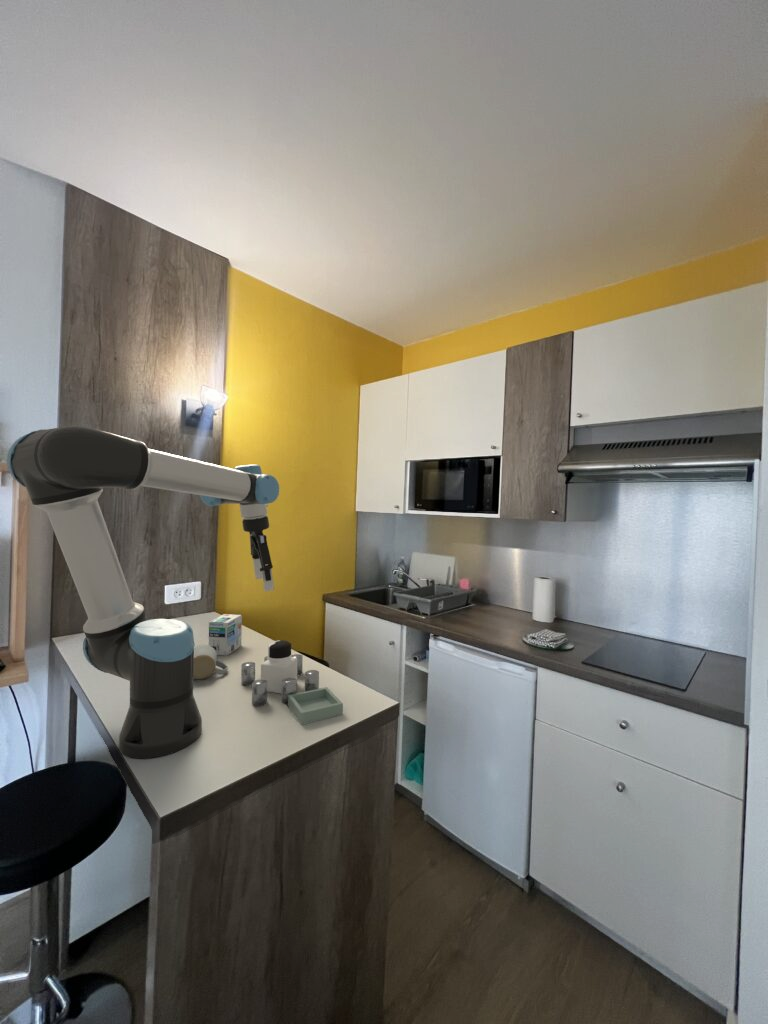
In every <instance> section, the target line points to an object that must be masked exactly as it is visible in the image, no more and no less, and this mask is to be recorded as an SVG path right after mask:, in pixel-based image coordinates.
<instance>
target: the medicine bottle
mask: <svg viewBox="0 0 768 1024" xmlns="http://www.w3.org/2000/svg"><path fill="white" fill-rule="evenodd" d="M291 655H292V643H291V642H290V641H288V640H284V639H283V640H281V639H280V640H279V639H278V640H273V641H272V642H270V643H269V644H268V645H267V656H268V660H267V661H265V662H264V661H263V662H262V663H261V664H260V680H266V681H267V693H268V692H269V693H274V694H281V695H282V680H283V679H286V678H295V679H296V680H297V681H298V676H297V658H294V657H291Z"/></svg>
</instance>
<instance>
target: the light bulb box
mask: <svg viewBox="0 0 768 1024" xmlns="http://www.w3.org/2000/svg"><path fill="white" fill-rule="evenodd" d="M242 625H243V615H242V614H232V613H231V614H228V613H224V614H221V615H220V616H218V617H216V618H214V619H212V620H210V621H208V645H209V646H211V647H213V648H214V649H215V651H216V653H217V656H229V655H230V654H232V653H233V652H234V651H235V650H237V649H238V648H240V647H242V637H243V636H242V633H243V632H242V631H243V630H242Z"/></svg>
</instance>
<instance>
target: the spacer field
mask: <svg viewBox="0 0 768 1024" xmlns="http://www.w3.org/2000/svg"><path fill="white" fill-rule="evenodd" d="M291 657H294V658H297V677H299V676H298V675H300V676H301V674H302V675H303V654H300V653H298V654H297V653H296V654H291ZM263 658H264V661H263V662H265V661H267V660H268V655H267V656H264V657H263ZM240 674H241V675H240V678H241V683H240V684H241V685H242V686H251V705H252V706H254V707H261V706H264V705H266V704H267V703H268V692H267V681H266V680H261V679H256V662H254V661H247V662H243V663H242V664H241V673H240ZM297 684H298V679H297V680H296V679H295V678H286V679H283V680H282V694H281V704H283V705H288V695H292V694H296V693H298V692H297V688H298V687H297V686H298V685H297ZM319 685H320V671H318V670H317V669H309V670H306V671H305V672H304V692H306V691H311V690H315V689H320V686H319Z"/></svg>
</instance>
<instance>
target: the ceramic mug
mask: <svg viewBox="0 0 768 1024" xmlns="http://www.w3.org/2000/svg"><path fill="white" fill-rule="evenodd" d="M228 670H229V666H228V665H227V664H226V663H225V662H222V661H221V660H218V655H217V653H216V651H215V649H214V648H213V647H211V646H209V644H200V645H197V646H194V666H193V679H194V680H205V679H208V678H209V677H211V675H213V674H215V675H221V676H222V675H225V674H227V672H228Z"/></svg>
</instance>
